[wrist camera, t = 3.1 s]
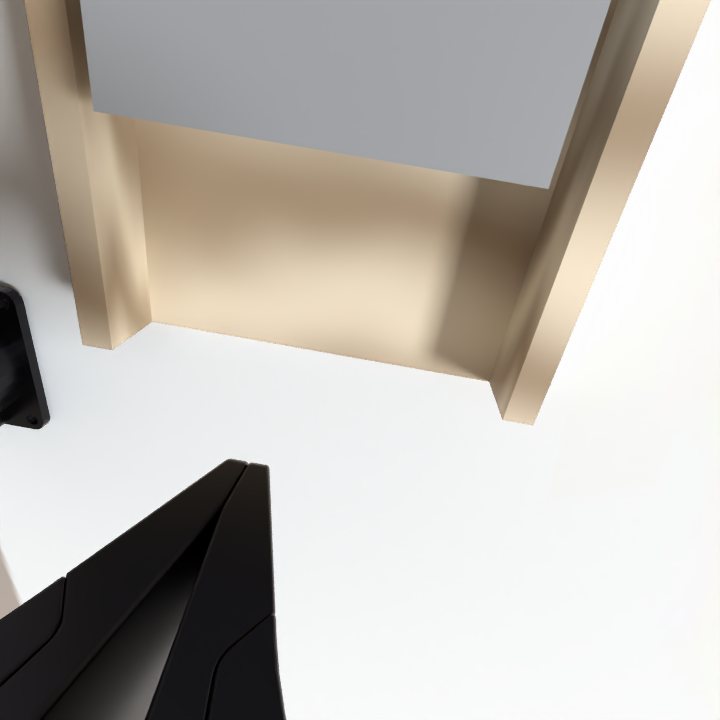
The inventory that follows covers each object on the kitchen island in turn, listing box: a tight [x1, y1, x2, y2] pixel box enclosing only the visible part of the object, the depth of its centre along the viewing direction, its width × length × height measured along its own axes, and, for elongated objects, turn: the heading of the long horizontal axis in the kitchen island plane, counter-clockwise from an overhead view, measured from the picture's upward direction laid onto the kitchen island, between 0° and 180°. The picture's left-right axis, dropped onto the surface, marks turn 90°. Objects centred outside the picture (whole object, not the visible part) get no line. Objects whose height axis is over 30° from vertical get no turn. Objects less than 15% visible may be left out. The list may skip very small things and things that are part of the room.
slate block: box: [80, 0, 611, 189], centre depth 10 cm, size 6×10×4 cm, turn 81°
